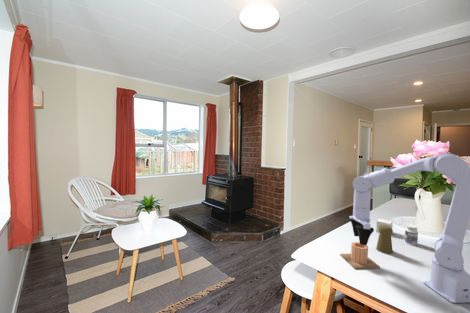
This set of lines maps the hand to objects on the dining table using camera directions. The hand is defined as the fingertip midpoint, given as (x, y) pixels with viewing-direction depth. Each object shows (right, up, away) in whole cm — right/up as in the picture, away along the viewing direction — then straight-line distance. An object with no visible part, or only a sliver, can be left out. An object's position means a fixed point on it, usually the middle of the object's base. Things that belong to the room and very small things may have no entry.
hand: (360, 240), depth 85 cm
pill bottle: (+34, -8, +17) cm, 39 cm away
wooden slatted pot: (0, -8, +1) cm, 8 cm away
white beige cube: (+30, -7, +30) cm, 43 cm away
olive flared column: (+16, -9, +10) cm, 21 cm away
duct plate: (0, -9, +1) cm, 9 cm away
